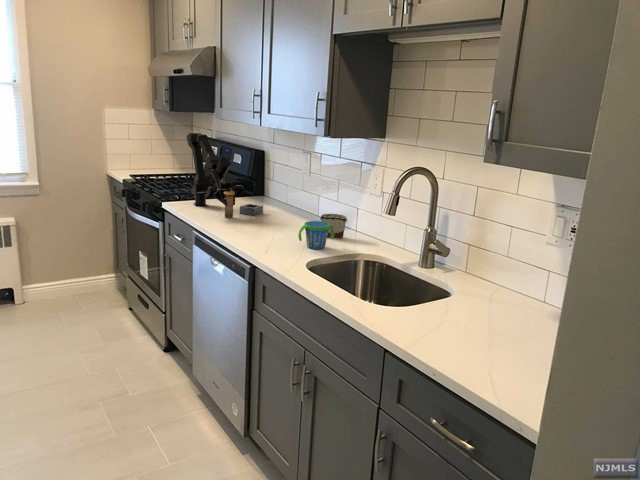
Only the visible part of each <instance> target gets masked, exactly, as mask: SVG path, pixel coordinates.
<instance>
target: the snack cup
mask: <svg viewBox="0 0 640 480" xmlns="http://www.w3.org/2000/svg"><path fill="white" fill-rule="evenodd" d="M330 227H331V238H330V239H335V238H334V228H333V227H332V226H331V225H330V224H329V223H326V222H322V221H321V220H310V221H306V222H304V225H302V226H301V227H300V228H299V232H298V240H299V241H300V242H302V233H303V231H304V230H305V241H306V246H307V248H309V249H312V250H323V249H325V248H326V243H327V239H328V238H327V235H328V230H329V228H330Z"/></svg>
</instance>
